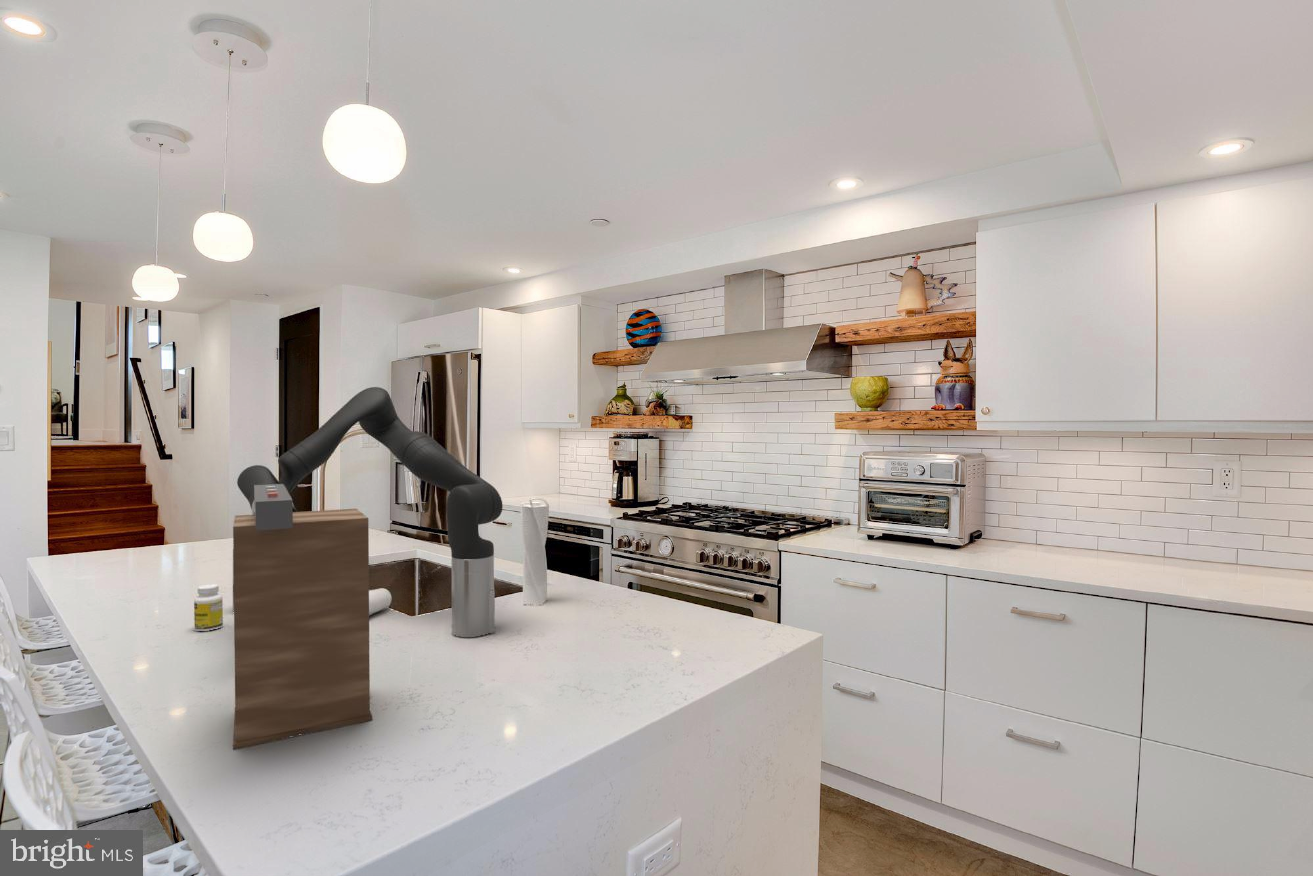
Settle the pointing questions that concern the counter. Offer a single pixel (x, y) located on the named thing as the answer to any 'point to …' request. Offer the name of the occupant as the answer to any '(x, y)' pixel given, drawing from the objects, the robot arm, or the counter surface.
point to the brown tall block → (301, 625)
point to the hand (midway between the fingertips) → (289, 542)
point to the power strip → (272, 507)
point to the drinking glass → (378, 600)
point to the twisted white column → (534, 551)
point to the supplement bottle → (208, 608)
